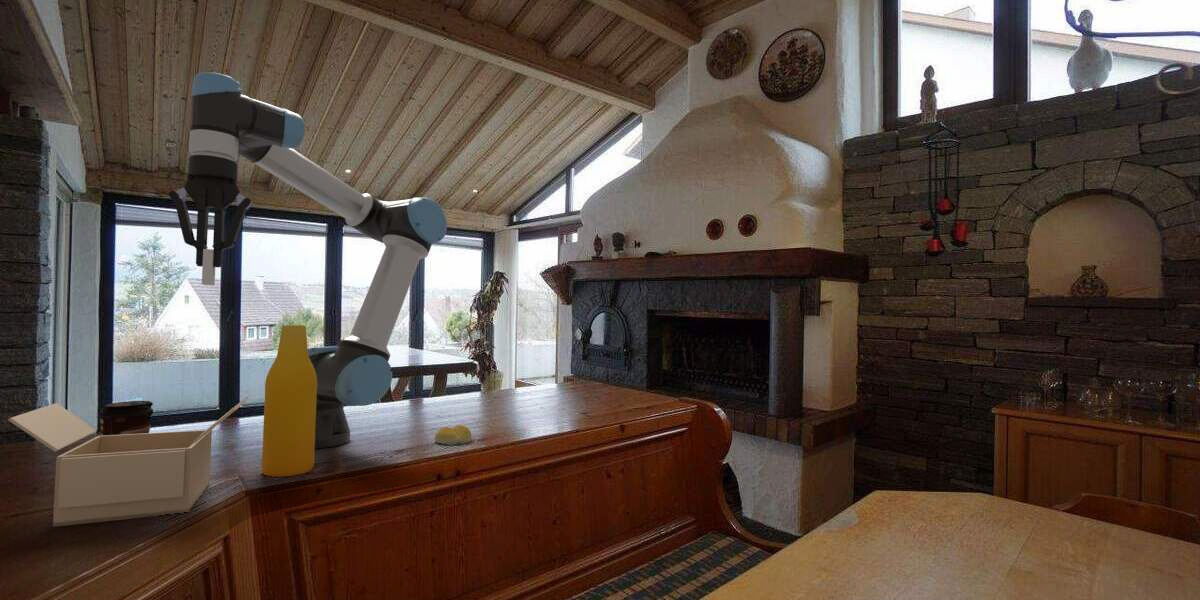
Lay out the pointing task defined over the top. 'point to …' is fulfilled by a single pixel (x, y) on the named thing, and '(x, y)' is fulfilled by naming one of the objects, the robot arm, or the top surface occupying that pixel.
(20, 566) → the top surface
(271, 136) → the robot arm
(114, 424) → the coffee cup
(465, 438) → the bread roll
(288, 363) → the beer bottle
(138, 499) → the carton
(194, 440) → the flap
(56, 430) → the flap
